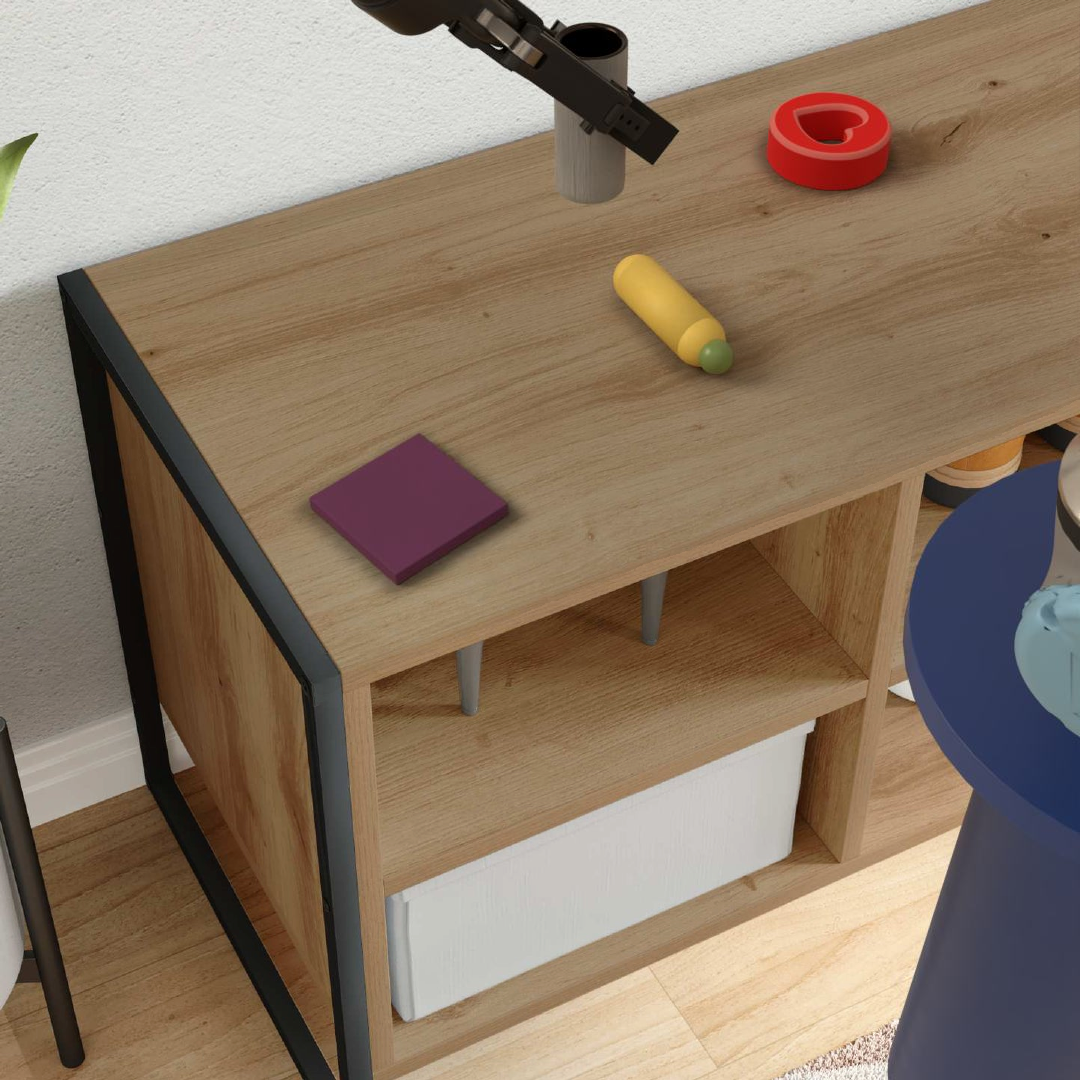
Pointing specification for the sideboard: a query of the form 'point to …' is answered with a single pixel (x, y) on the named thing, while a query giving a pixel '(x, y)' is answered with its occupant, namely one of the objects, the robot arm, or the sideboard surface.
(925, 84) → the sideboard surface
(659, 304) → the corn
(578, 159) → the grey hollow cylinder
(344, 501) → the cloth
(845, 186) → the decorative ornament
